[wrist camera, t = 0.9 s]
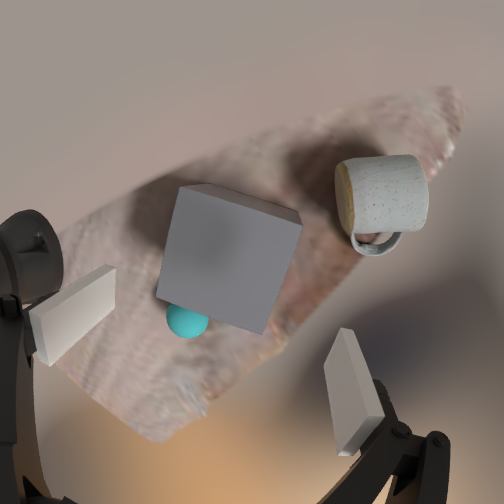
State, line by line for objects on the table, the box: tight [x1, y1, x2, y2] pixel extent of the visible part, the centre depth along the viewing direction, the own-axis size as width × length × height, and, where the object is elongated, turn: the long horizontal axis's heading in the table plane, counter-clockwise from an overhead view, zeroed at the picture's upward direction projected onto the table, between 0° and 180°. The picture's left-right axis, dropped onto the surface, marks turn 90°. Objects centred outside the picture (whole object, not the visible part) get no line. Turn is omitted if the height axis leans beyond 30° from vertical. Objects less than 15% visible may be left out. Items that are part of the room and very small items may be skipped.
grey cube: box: [156, 183, 303, 335], centre depth 27 cm, size 10×10×9 cm
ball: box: [166, 303, 209, 338], centre depth 32 cm, size 5×5×5 cm
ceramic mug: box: [335, 155, 429, 256], centre depth 25 cm, size 11×8×8 cm
